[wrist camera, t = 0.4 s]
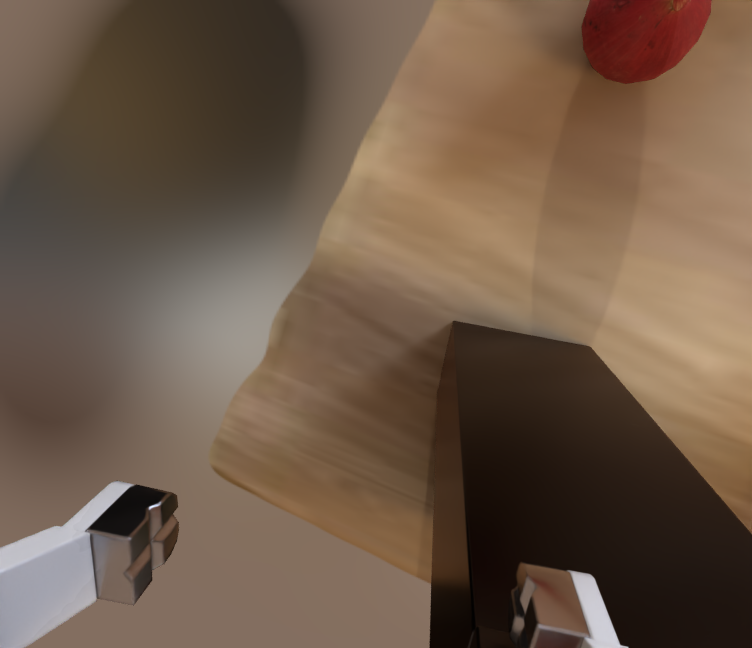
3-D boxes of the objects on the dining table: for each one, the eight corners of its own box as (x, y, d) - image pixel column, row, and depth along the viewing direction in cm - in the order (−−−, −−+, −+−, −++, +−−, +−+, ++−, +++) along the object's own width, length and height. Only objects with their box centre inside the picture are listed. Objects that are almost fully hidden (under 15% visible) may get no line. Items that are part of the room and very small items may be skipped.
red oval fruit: (545, 53, 28) (585, 4, 20) (617, -39, 26) (689, -129, 19) (616, 114, 29) (680, 88, 21) (691, 28, 27) (790, -35, 19)
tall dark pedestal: (563, 417, 35) (834, 962, 11) (436, 391, 36) (421, 843, 12) (589, 339, 33) (999, 799, 9) (453, 313, 34) (479, 667, 10)
